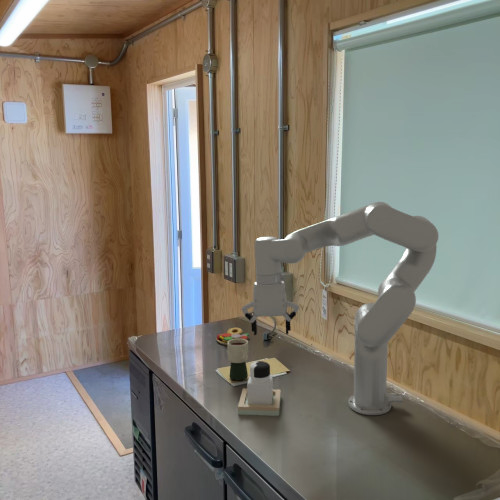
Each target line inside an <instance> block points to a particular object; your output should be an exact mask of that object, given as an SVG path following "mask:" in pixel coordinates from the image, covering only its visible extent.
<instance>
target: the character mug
mask: <svg viewBox="0 0 500 500" xmlns="http://www.w3.org/2000/svg"><path fill="white" fill-rule="evenodd" d="M226 346H227V349H226V351H227V360H228V362H229V363H230V368H229V378H230V379H231V380H235V381H236V380H240V379H241V380H245V379H248V378H249V377H248V376H249V375H248V368H247V364H246V363H247V361H248V359H249V357H250V356H249V340H248V339H247V340H245V339H232V340H229V341H228V342H227V345H226ZM241 380H240V381H241Z"/></svg>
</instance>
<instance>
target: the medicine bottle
mask: <svg viewBox="0 0 500 500" xmlns="http://www.w3.org/2000/svg"><path fill="white" fill-rule="evenodd" d="M248 376H249V377H248V380H247V384H246V385H247V386H246V389H247V396H248V405H272V398H273V389H274V383H273V381H274V378H273V374H271V365H270V364H269V363H268V362H266V361H262V360H260V361H259V360H258V361H254V362H252V363H251V364H250V366H249V375H248Z"/></svg>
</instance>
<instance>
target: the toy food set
mask: <svg viewBox="0 0 500 500" xmlns="http://www.w3.org/2000/svg"><path fill="white" fill-rule="evenodd" d="M243 332H244V331H243V330H242V329H241V328H239V327H231V328H228V329H227V332H225V333H221V334H217V335H216V338H215V339H216V341H217V342H218V343H219V344H221V345H223V346H227V342H228V341H229V340H232V339H245V340H247V341H248V338H249V335H250V334H249V332H247V333H246V332H245V333H243Z"/></svg>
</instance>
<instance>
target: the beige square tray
mask: <svg viewBox="0 0 500 500" xmlns="http://www.w3.org/2000/svg"><path fill="white" fill-rule="evenodd" d="M281 393H282V390H281V388H280V389H274V388H273V398H272V405H248V396H247V388H245V387H244V388H242V389H241V394H240V397H239V401H238V405H237V415H239V416H241V415H242V416H244V415H245V416H271V417H272V416H273V417H280V409H281V406H280V405H281V398H282V394H281Z"/></svg>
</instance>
